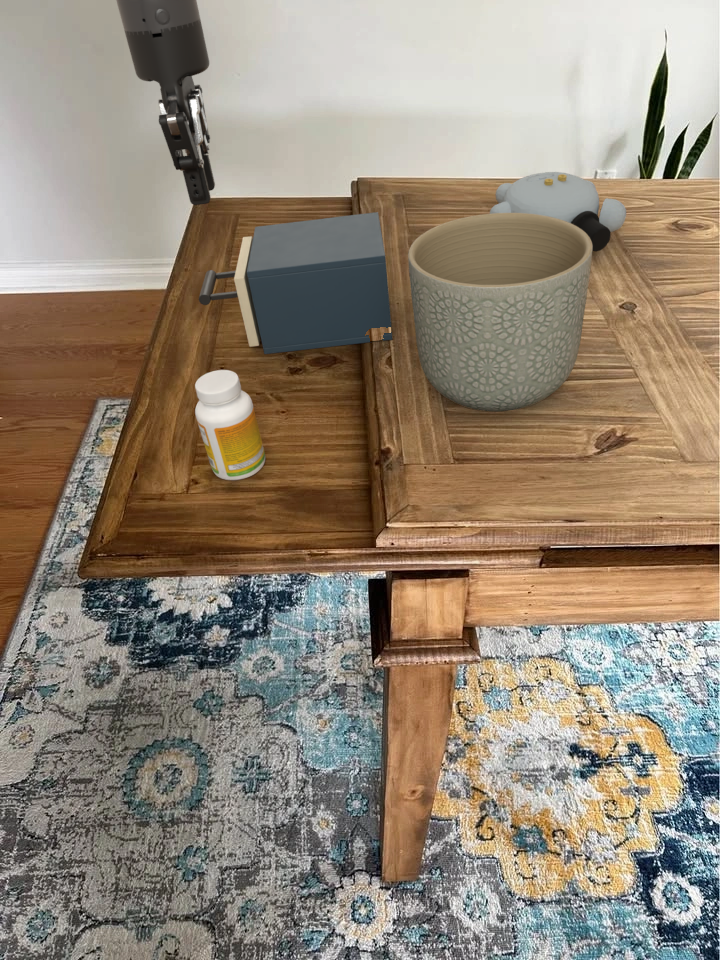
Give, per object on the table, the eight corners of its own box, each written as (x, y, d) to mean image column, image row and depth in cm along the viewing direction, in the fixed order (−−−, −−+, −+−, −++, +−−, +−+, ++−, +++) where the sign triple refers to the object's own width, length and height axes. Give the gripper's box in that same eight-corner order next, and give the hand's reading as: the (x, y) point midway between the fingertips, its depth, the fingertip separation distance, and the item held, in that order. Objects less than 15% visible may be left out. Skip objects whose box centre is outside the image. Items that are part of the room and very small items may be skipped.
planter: (519, 453, 69) (525, 304, 59) (384, 397, 78) (371, 260, 69) (608, 372, 77) (627, 230, 68) (478, 330, 87) (477, 201, 77)
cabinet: (264, 354, 88) (246, 271, 82) (270, 303, 99) (255, 226, 92) (392, 339, 88) (385, 255, 81) (385, 290, 98) (378, 211, 91)
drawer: (207, 352, 88) (188, 284, 83) (218, 305, 98) (202, 241, 92) (368, 333, 88) (360, 263, 82) (363, 288, 97) (356, 223, 92)
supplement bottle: (276, 453, 73) (257, 369, 67) (248, 486, 69) (225, 401, 63) (231, 443, 75) (208, 361, 69) (201, 475, 71) (175, 392, 65)
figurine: (464, 228, 110) (541, 289, 97) (467, 172, 104) (549, 229, 91) (560, 201, 115) (646, 256, 102) (568, 145, 109) (660, 196, 95)
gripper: (138, 14, 77) (180, 180, 88) (107, 37, 66) (160, 223, 77) (207, 5, 77) (241, 173, 88) (188, 26, 66) (230, 215, 77)
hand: (203, 195), depth 83 cm, fingers open, 3 cm apart
